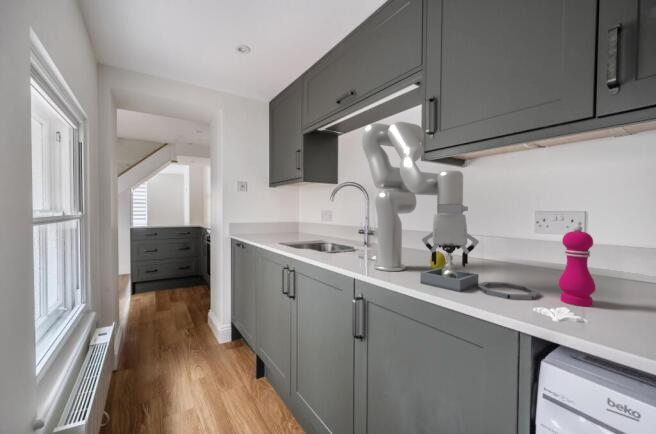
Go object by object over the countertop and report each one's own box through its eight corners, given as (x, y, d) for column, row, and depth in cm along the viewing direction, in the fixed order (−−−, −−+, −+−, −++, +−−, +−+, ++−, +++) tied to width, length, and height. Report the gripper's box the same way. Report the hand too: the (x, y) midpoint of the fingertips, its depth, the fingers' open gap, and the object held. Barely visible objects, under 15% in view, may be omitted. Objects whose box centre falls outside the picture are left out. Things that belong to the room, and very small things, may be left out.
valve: (440, 284, 90) (440, 245, 90) (436, 279, 96) (436, 243, 96) (463, 285, 89) (463, 246, 88) (457, 279, 95) (457, 243, 95)
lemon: (443, 274, 107) (444, 252, 107) (428, 272, 110) (428, 251, 110) (446, 271, 112) (447, 250, 112) (432, 269, 115) (432, 249, 115)
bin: (420, 283, 94) (420, 272, 94) (440, 277, 102) (440, 267, 102) (459, 292, 84) (459, 280, 84) (478, 285, 92) (478, 274, 92)
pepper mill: (554, 301, 75) (555, 224, 75) (562, 296, 80) (564, 223, 79) (591, 309, 70) (593, 226, 69) (598, 303, 74) (600, 225, 74)
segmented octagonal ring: (469, 290, 86) (469, 287, 86) (490, 282, 95) (490, 279, 95) (527, 303, 74) (527, 299, 74) (544, 292, 83) (544, 289, 83)
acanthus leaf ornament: (532, 313, 69) (532, 305, 69) (561, 313, 69) (561, 305, 69) (557, 325, 61) (557, 316, 61) (590, 325, 61) (590, 316, 61)
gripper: (478, 210, 93) (478, 264, 93) (421, 210, 99) (421, 261, 99) (482, 210, 86) (481, 269, 86) (420, 210, 92) (420, 265, 92)
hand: (449, 264), depth 93 cm, fingers open, 8 cm apart
